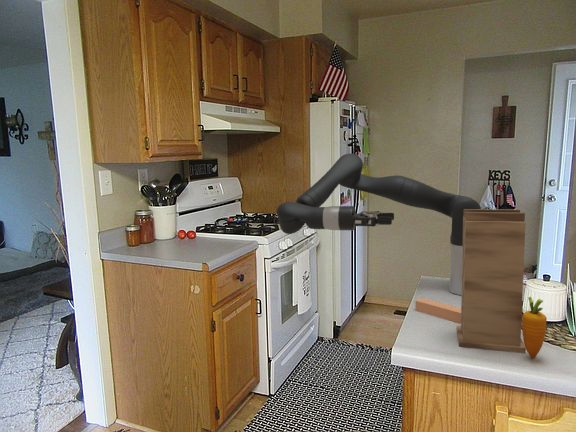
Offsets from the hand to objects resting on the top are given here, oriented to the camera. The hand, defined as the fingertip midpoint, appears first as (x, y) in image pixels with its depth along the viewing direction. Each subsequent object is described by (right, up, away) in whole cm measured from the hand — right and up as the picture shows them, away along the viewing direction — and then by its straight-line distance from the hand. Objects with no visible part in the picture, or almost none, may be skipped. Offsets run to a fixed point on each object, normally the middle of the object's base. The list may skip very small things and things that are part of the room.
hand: (392, 218), depth 128 cm
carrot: (+26, -33, -27) cm, 50 cm away
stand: (+21, -32, -17) cm, 41 cm away
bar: (+17, -30, -1) cm, 34 cm away
